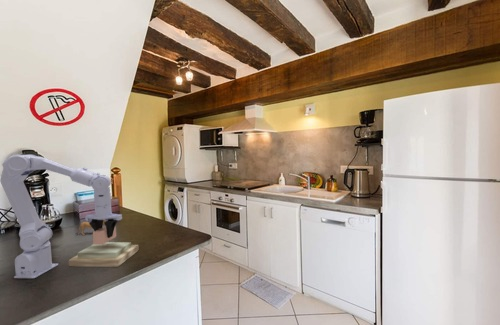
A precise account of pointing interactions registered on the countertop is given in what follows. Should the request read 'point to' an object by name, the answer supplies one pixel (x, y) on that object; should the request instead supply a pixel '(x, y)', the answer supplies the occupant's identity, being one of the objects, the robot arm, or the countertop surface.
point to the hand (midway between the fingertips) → (104, 236)
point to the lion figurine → (85, 225)
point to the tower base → (104, 260)
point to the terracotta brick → (102, 236)
